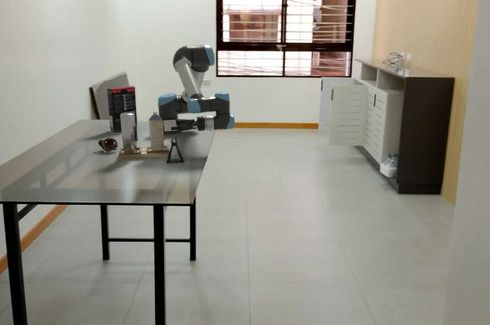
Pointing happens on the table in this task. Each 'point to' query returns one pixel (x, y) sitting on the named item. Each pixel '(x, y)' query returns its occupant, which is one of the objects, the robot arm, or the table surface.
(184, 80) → the robot arm
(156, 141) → the aerosol can
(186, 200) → the table surface
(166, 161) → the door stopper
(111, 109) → the graphics card box
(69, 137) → the table surface
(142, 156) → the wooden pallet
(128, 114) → the metal canister
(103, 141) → the brown curved piece
